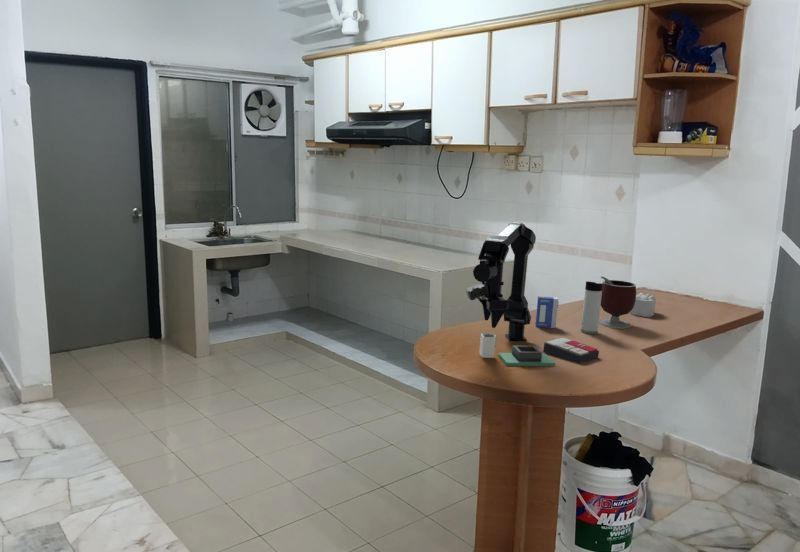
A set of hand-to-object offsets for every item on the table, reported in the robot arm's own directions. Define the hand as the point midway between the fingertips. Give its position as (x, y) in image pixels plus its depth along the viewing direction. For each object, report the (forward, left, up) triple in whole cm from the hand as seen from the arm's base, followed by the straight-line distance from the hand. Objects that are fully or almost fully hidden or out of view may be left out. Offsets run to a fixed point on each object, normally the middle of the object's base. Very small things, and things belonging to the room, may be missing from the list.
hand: (489, 323), depth 218 cm
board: (+5, +12, -11) cm, 17 cm away
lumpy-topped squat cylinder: (-63, +85, -11) cm, 106 cm away
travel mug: (-31, +48, -11) cm, 58 cm away
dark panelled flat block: (-2, +29, -12) cm, 32 cm away
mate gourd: (-43, +63, -11) cm, 77 cm away
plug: (0, 0, -11) cm, 11 cm away
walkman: (-38, +33, -11) cm, 51 cm away
